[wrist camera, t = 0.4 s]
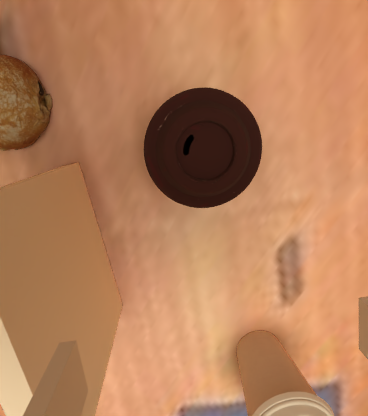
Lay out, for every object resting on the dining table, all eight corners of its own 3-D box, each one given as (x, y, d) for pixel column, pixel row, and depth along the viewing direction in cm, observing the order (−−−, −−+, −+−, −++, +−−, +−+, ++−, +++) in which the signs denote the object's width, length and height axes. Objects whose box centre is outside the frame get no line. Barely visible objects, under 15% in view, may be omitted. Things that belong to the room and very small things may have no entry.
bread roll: (63, 135, 43) (71, 124, 35) (-19, 167, 39) (-29, 161, 32) (25, 60, 40) (25, 31, 33) (-66, 85, 36) (-88, 59, 29)
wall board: (58, 167, 40) (-95, 219, 17) (78, 162, 40) (-46, 207, 17) (104, 309, 45) (35, 505, 21) (122, 304, 45) (74, 495, 21)
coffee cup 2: (287, 377, 49) (338, 482, 34) (224, 378, 48) (249, 485, 34) (293, 320, 47) (351, 407, 32) (227, 321, 46) (255, 409, 31)
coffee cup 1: (246, 152, 41) (291, 165, 26) (182, 199, 42) (191, 236, 27) (201, 84, 38) (222, 56, 24) (134, 134, 39) (116, 137, 25)
